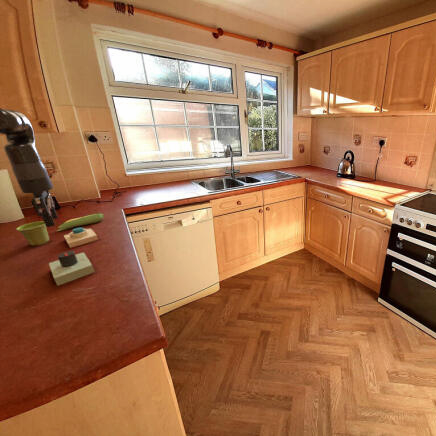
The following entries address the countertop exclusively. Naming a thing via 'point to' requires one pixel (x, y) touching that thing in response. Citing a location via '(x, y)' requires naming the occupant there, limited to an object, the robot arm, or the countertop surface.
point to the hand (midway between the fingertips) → (52, 222)
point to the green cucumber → (82, 221)
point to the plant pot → (34, 233)
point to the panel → (71, 269)
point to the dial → (67, 259)
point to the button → (78, 230)
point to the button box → (80, 237)
